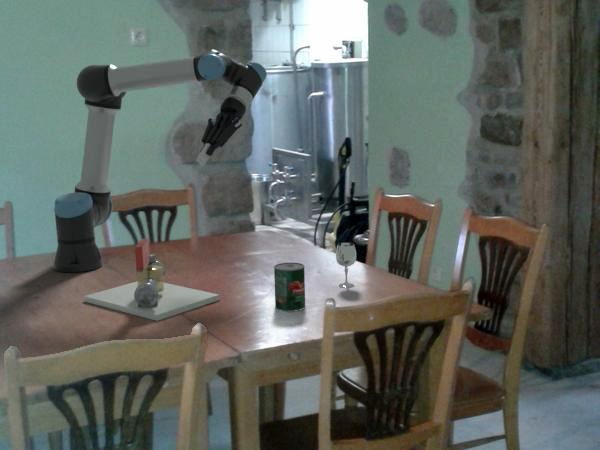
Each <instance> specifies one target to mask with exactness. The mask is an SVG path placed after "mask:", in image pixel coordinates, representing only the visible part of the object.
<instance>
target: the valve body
mask: <svg viewBox="0 0 600 450" xmlns="http://www.w3.org/2000/svg"><path fill="white" fill-rule="evenodd" d="M165 271H166V270H165V266H164V264H163V263H162V262H160V261H159V260H156V262H155V263H151V264H148V265H147V267H146V268H145V270H144V271H143V272H137V270H136V282H137V288H136V290H135V293H134V298H135V300H136V302H137V303H138V307H149V306H158V303H159V302H158V292H161V291H163V290H164V283H165V282H164V275H165Z"/></svg>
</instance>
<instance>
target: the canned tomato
mask: <svg viewBox="0 0 600 450" xmlns="http://www.w3.org/2000/svg"><path fill="white" fill-rule="evenodd" d="M273 271H274V272H273V273H274V301H275V302H274V303H275V306H274V307H275V309H276V310H278V311H280V310H282V311H281V312H296V311H295V310H298V311H301V310H300V309H302V310H304V309H305V308H306V285H305V284H306V283H305V277H306V276H305V275H306V274H305V264H303V263H300V262H292V261H291V262H282V263H277V264H275V265H274V266H273ZM303 308H304V309H303Z"/></svg>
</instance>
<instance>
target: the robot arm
mask: <svg viewBox="0 0 600 450" xmlns="http://www.w3.org/2000/svg"><path fill="white" fill-rule="evenodd" d="M267 76H268V75H267V70H266V68H265V67H264V66H263V65H262V64H260V62H257V61H248V62H247V63H246V64H244V63H241V62H239V61H236V60H235V59H233V58H231V57H230V56H227V54H225V53H223V52H220V51H218V50H216V49H210V50H209V51H208V52H207V54H205V55H204V54H203V55H198V56H190V57H181V58H175V59H168V60H161V61H160V60H159V61H154V62H153V61H152V62H147V63H140V64H133V65H126V66H119V67H117V66H115V65H114V64H91V65H88V66H87V65H86V67H83V68H82V69H81V70H80V72H79V73H78V75H77V77H76V88H77V90H78V91H77V92H79V94H80V95H81V97H82V98H83V99H84V106H85V107H86V109H88V112H87V113H88V114H87V121H86V122H87V123H86V131H85V139H84V149H83V156H82V157H83V158H82V164H81V165H82V166H81V173H80V181H79V182H77V183H76V184H75V185H74V192H71V193H70V192H69V193H67V194H62V195H60V196H58V197H56V199H55V200H54V208H53V211H54V217H55V228H56V229H55V230H56V239H57V246H56V247H57V248H56V251H55V255H54V259H53V270H54V271H55V272H60V273H82V272H89V271H92V270H96V269H100V268H101V267H102V266H103V257H102V255H101V253H100V251H99V250H100V249H98V248H99V247H98V245H97V244H96V237H95V236H96V233H95V228H96V227H99V226H101V225H103V224H104V223H105V222H107V220H108V219H109V218H110V217H111V215H112V212H113V207H114V206H113V205H114V204H113V201H112V199H111V192H112V190H111V188H110V187H109V185H108V177H109V168H110V161H111V155H112V154H111V152H112V145H113V136H114V130H115V129H114V127H115V121H116V120H115V119H116V114H117V113H118V112H120V111H121V109H122V102H123V98H124V97H125V95H126V94H127V92H133V91H140V90H149V89H154V88H162V87H170V86H175V85H182V84H189V83H190V84H191V83H197V82H205V81H206V82H207V81H214V80H215V81H216V80H220V81H223V82H225V83H226V84H228V85H230V86H232V87H231V89H230V90H229V92H228V93H227V95H226V98H224V100H223V102H222V103H221V105H220V107H219V109H220V112H219V113H218V114H217V115H216V116H215V117H214V118H213V119H212V118H210V117H209V118H208V120H207V126H206V128H205V131H204V133H203V136H202V137H201V138H202V139H201V142H202V144H203V147H202V148H201V150H200V152H199V154H198V155H197V157H196V159H195V161H196V162H197V163H198V164H199V165H200V166H205V165H206V164H207V163H208V160H209V159H210V157H212V155H213V154H214V152H215V151H216V149H218V148H223V147H224V146H225V145H226V143H227V142H228V141H229V140H230V138H231V137H232V136H233V135H234V134H235V133H236V132H237V130H238V129H240V128H241V127H242V126H243V124H242V123H241V120H242V119H243V117H244V115H245V114H246V112H247V110H248V109H249V107H250V105H251V104H252V103H253V100H254V99H255V97H256V95H257V94H258V93H259V91H260V89H261V87H262V86H263V84H264V82H265V80H266V79H267Z"/></svg>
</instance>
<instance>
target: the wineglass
mask: <svg viewBox="0 0 600 450" xmlns="http://www.w3.org/2000/svg"><path fill="white" fill-rule="evenodd" d="M335 260H336V263H337V264H338V265H339V266H341V267H344V275H345V281H344V282H343V283H339V284H338V288H344V287H345V288H344V289H346V288H347V289H350V288H354V287H355V284H353V283H352V282H351V283H349V281H348V272H349V268H348V267H351V266H353V265H354V264H355V263H356V261H357V250H356V247H355V244H354V243H353V242H340V243H338V244H337V246H336V251H335ZM349 287H350V288H349Z"/></svg>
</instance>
